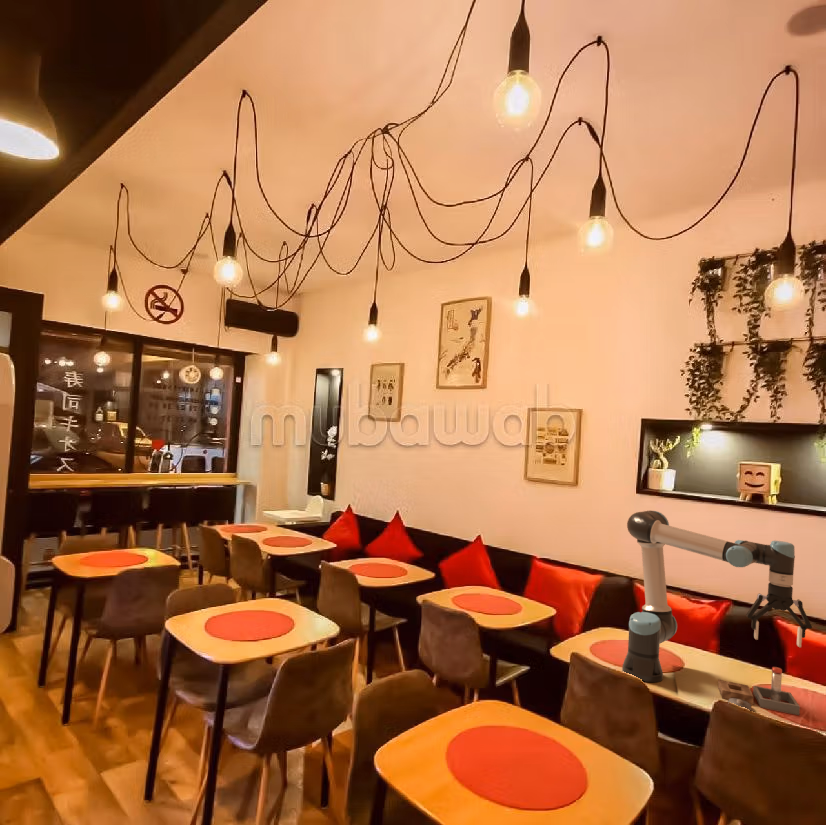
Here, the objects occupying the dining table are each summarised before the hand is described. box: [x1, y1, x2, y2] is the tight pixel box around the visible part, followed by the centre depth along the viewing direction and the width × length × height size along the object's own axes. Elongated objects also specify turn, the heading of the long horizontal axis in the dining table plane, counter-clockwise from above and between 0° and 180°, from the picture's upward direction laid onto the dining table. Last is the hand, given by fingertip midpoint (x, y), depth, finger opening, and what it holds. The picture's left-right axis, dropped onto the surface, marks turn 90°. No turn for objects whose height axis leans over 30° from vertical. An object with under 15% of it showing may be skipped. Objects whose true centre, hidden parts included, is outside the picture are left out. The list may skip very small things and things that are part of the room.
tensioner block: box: [717, 679, 755, 711], centre depth 206 cm, size 10×18×4 cm, turn 159°
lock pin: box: [770, 666, 783, 702], centre depth 205 cm, size 3×3×13 cm
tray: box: [752, 685, 801, 716], centre depth 205 cm, size 12×12×4 cm
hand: (777, 642), depth 206 cm, fingers open, 13 cm apart
